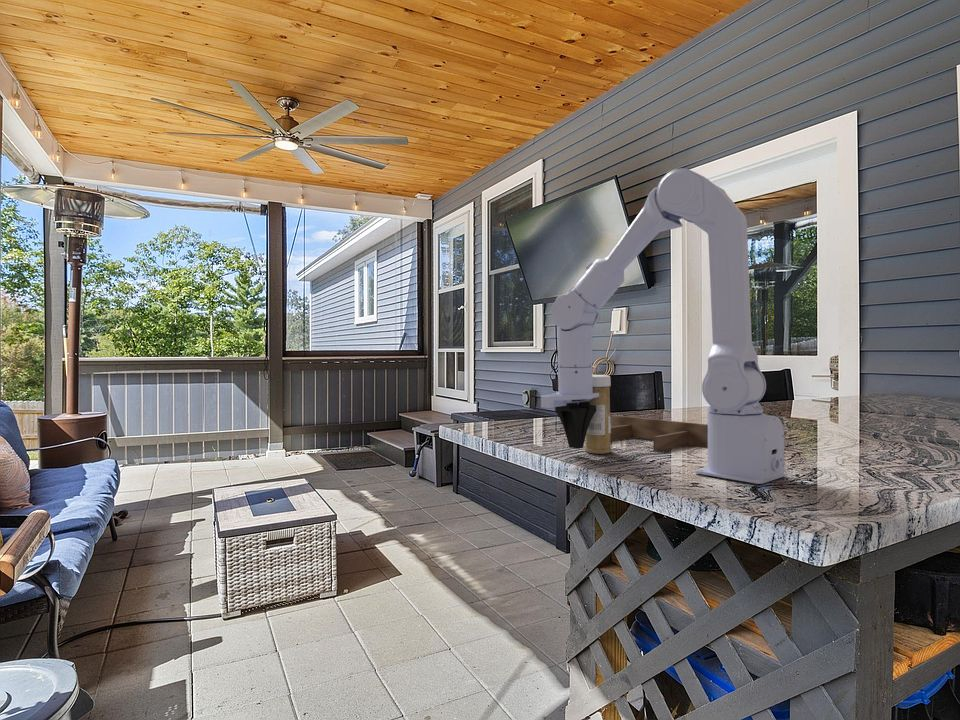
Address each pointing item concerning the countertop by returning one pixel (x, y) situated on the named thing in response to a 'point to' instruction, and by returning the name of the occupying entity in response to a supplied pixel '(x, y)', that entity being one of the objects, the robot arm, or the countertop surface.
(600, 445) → the sprinkles bottle
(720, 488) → the countertop surface
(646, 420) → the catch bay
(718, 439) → the robot arm
